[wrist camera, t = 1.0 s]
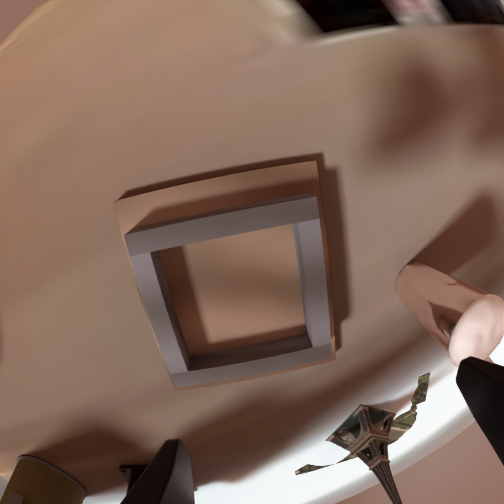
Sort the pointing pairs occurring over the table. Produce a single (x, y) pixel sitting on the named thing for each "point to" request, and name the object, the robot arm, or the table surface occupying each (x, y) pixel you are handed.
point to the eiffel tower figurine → (375, 437)
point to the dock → (233, 274)
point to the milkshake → (452, 311)
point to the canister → (41, 484)
